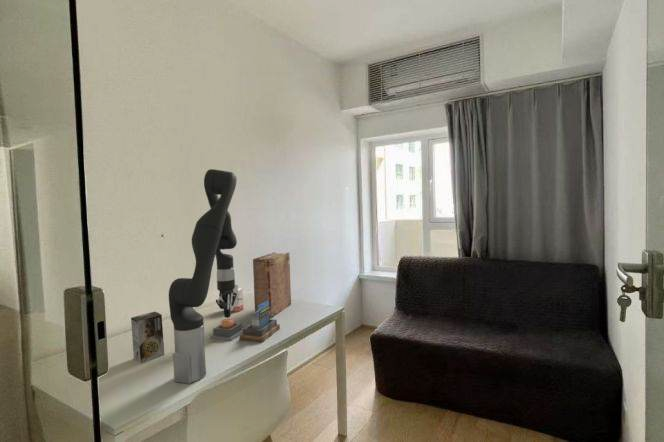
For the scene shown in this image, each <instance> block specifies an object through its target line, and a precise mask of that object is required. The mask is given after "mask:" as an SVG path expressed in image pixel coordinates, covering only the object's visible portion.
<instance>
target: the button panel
mask: <svg viewBox="0 0 664 442" xmlns="http://www.w3.org/2000/svg"><path fill="white" fill-rule="evenodd" d="M212 333H213V334H210V335H209V339H212V340H213V339H214V340H224V341H233V340H235V339H236V338H238V337H240V335H241V334H242V333H243V323H241V322H234V326H233V327H232V328H230V329H227V328H222V325H221V324H218V325H217V326H215V327H213V328H212Z"/></svg>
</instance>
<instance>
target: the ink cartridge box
mask: <svg viewBox="0 0 664 442" xmlns="http://www.w3.org/2000/svg"><path fill="white" fill-rule="evenodd" d="M238 286H239V285H238V284H235V288H234V289H233V291H234V293H237V296H236V299H235V302H234V305H233V306H231V308H230V311H231V312H238V313H239V312H240V311H241V312H242V311H243V310H244V292H243V288H242V287H240V288H239V287H238Z"/></svg>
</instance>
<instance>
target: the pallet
mask: <svg viewBox="0 0 664 442" xmlns="http://www.w3.org/2000/svg"><path fill="white" fill-rule="evenodd" d="M277 321H278V320H277V319H273V318H269V324H268V325H266V326H265V327H263V328H262V329H261V330H260V329H252V322H251V323H250V324H248V325H247V326H245V327H242V329H243V333H242V334H241V335H239V340H240V341H248V342H256V343H257V342H259V343H264V342H266V340H268V339H269V338H270V337H272V335H274V334H275V333H277V331H279V330H280V329H281V326H280V324H278V323H277Z"/></svg>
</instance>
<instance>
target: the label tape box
mask: <svg viewBox="0 0 664 442" xmlns="http://www.w3.org/2000/svg"><path fill="white" fill-rule="evenodd" d="M263 305H266V306H264V307H262V306H263ZM258 306H259V310H258V311H256V312H255V311H254V312H253V313H252V314H251V323H252V329H260V330H261V329H262V328H263V327H265V326H266V325H268V324H269V319H270V318H269V302H268V301H266V302H264V303H262V304H260V305H258Z"/></svg>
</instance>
